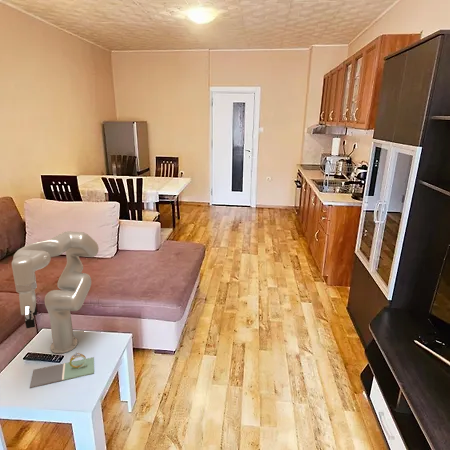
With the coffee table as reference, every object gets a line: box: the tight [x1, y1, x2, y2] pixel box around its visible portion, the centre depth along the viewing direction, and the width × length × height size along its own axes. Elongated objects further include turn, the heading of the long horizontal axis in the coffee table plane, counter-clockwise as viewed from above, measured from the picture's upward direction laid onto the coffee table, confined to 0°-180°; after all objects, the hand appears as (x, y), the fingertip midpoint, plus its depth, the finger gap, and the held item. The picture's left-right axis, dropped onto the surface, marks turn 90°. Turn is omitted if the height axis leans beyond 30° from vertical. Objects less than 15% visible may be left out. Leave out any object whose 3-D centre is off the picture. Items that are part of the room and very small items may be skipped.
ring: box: [69, 352, 87, 369], centre depth 152 cm, size 7×3×8 cm, turn 105°
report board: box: [29, 357, 95, 389], centre depth 151 cm, size 11×26×1 cm, turn 111°
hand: (32, 321), depth 141 cm, fingers open, 9 cm apart
